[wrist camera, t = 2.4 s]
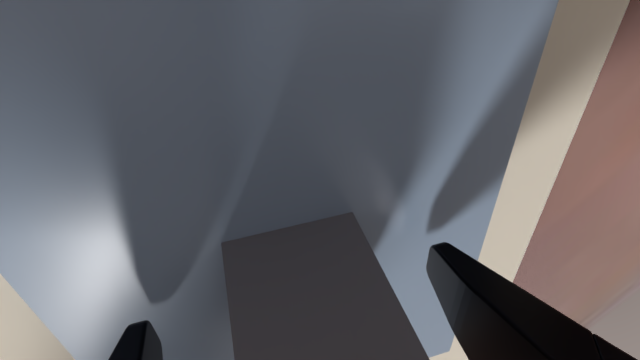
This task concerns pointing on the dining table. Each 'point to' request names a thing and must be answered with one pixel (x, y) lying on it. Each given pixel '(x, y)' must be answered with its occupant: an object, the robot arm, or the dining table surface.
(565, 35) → the mat
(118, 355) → the robot arm
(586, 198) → the dining table surface
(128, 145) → the lid
